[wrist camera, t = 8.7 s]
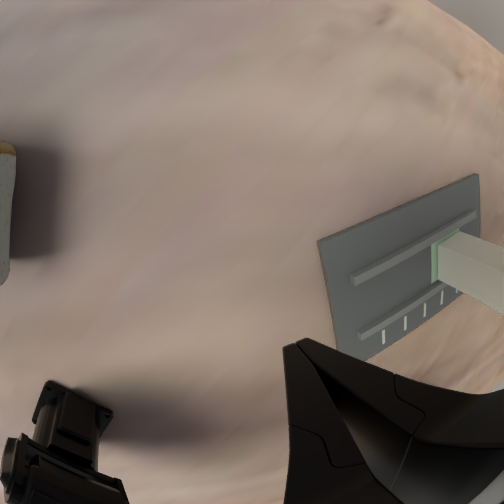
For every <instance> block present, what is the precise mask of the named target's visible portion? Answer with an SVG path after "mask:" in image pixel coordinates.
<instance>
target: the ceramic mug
mask: <svg viewBox="0 0 504 504" xmlns="http://www.w3.org/2000/svg"><path fill="white" fill-rule="evenodd" d="M15 176H16V151H15V149H14V148H13V146H12V145H11V144H10V143H6V142H0V285H2V284H3V283H4V282H5V281H6V279H7V277H8V274H9V271H10V269H9V245H10V223H11V207H12V198H13V192H14V186H15Z"/></svg>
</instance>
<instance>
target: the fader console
mask: <svg viewBox="0 0 504 504" xmlns="http://www.w3.org/2000/svg"><path fill="white" fill-rule="evenodd" d="M459 231H460V232H463V233H466V234H469V235H472V236H474V237H477V238H480V186H479V174H475V173H474V174H472V175H470V176H468V177H465V178H463V179H461V180H459V181H456V182H454V183H452V184H449V185H447V186H445V187H443V188H440V189H438V190H436V191H433V192H431V193H429V194H427V195H424V196H422V197H420V198H417V199H415V200H413V201H410V202H408V203H406V204H403V205H401V206H399V207H396V208H394V209H392V210H389V211H387V212H385V213H382V214H380V215H378V216H375V217H373V218H371V219H368V220H366V221H364V222H361V223H359V224H356V225H354V226H352V227H349V228H347V229H345V230H342V231H340V232H337V233H335V234H333V235H330V236H328V237H325V238H323V239H321V240H318V241H317V244H318V248H319V253H320V258H321V263H322V268H323V273H324V278H325V283H326V288H327V293H328V299H329V304H330V310H331V315H332V321H333V327H334V333H335V339H336V345H337V350H338V351H340V352H342V353H345V354H347V355H350V356H352V357H355V358H357V359H360V360H362V361H366V360H367V359H369V358H371V357H372V356H374V355H376V354H377V353H379V352H380V351H382V350H384V349H385V348H387V347H388V346H390V345H392V344H393V343H395V342H396V341H398V340H399V339H401V338H402V337H404V336H405V335H407V334H408V333H410V332H411V331H413V330H414V329H416V328H417V327H418V326H420V325H421V324H423V323H424V322H426V321H427V320H428V319H430V318H431V317H432V316H434V315H435V314H437V313H438V312H439V311H441V310H442V309H443V308H445V307H446V306H447V305H448V304H450V303H451V302H452V301H454V300H455V299H456V298H457V297H459V296H460V295H461V294H462V293H463V292H461V291H459V290H457V289H456V288H454V287H452V286H450V285H448V284H446V283H444V282H442V281H440V280H438V244H440V243H441V242H443V241H445V240H446V239H448V238H450V237H451V236H453V235H454V234H456V233H458V232H459Z"/></svg>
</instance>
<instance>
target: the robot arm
mask: <svg viewBox="0 0 504 504" xmlns="http://www.w3.org/2000/svg"><path fill="white" fill-rule="evenodd" d="M283 362H284V373H285V386H286V398H287V411H288V425H289V450H290V452H289V465H288V474H287V482H286V489H285V497H284V503H283V504H504V389H502V390H498V391H495V392H492V393H488V394H469V393H464V392H459V391H454V390H450V389H445V388H441V387H436V386H432V385H428V384H425V383H421V382H418V381H415V380H412V379H409V378H406V377H403V376H401V375H398V374H394V373H392V372H390V371H387V370H385V369H382V368H380V367H377V366H375V365H372V364H369V363H367V362H364V361H362V360H360V359H357V358H355V357H352V356H350V355H347V354H345V353H342V352H340V351H338V350H335V349H333V348H331V347H328V346H326V345H323V344H321V343H319V342H316V341H314V340H312V339H310V338H304V339H301V340H299V341H297V342H296V343H292V344H289V345H287V346H284V347H283ZM49 387H51V388H49ZM106 414H108V415H106ZM112 418H113V412H112V411H111V410H109V409H106V408H104V407H102V406H99V405H97V404H95V403H93V402H90V401H88V400H86V399H84V398H82V397H80V396H78V395H76V394H74V393H72V392H70V391H68V390H66V389H64V388H62V387H60V386H58V385H56V384H54V383H52V382H50V381H47V382H45V385H44V387H43V390H42V392H41V395H40V398H39V400H38V403H37V406H36V409H35V412H34V415H33V418H32V422H33V423H34V424H36V427H35V431H34V435H33V439H30V438H28V436H27V435H25V434H24V433H22V434H21V435H20V437H19V439H17V438H9V437H8V439H7V441H6V444H5V448H4V452H3V456H2V461H1V469H0V480H1V482H2V484H3V486H4V496H5V502H6V503H7V504H130V503H129V501H128V498H127V495H126V492H125V489H124V486H123V483H122V480H120V479H118V478H112V477H110V476H107V475H104V474H102V473H99V472H98V448H99V438H100V436H101V435H102V433H103V432H104V430H105V429H106V427H107V426H108V424H109V423H110V421H111V420H112Z"/></svg>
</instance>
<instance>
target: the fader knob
mask: <svg viewBox="0 0 504 504" xmlns="http://www.w3.org/2000/svg"><path fill="white" fill-rule="evenodd" d="M438 280H440V281H442V282H444V283H446V284H448V285H450V286H452V287H454V288H456V289H457V290H459V291H461V292H463V293H465V294H467V295H469V296H471V297H472V298H474V299H476V300H478V301H480V302H482V303H484V304H485V305H487V306H489V307H491V308H493V309H494V310H496V311H498V312H500V313H502V314H503V315H504V247H501V246H499V245H496V244H493V243H491V242H488V241H485V240H483V239H480V238H477V237H474V236H472V235H469V234H466V233H463V232H460V231H459V232H458V233H456V234H454V235H453V236H451V237H450V238H448V239H446V240H445V241H443V242H441V243H440V244H438Z"/></svg>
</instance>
